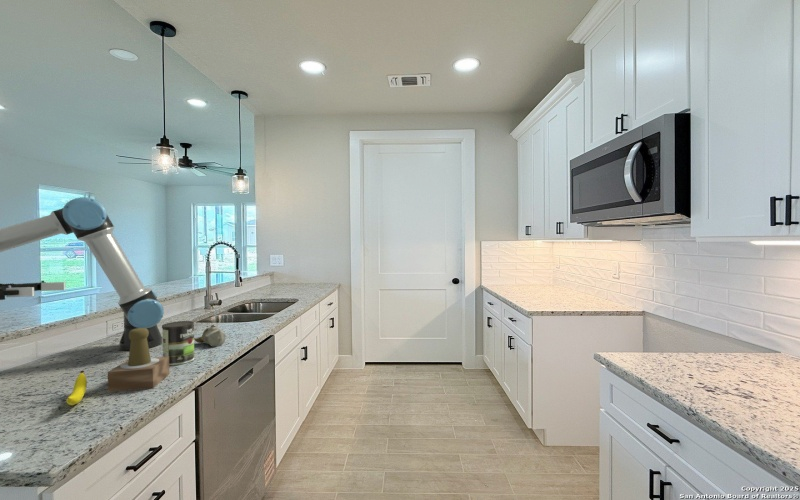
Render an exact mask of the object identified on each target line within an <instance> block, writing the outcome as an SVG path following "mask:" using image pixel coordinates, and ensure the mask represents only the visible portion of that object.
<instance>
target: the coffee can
mask: <svg viewBox="0 0 800 500" xmlns="http://www.w3.org/2000/svg"><path fill="white" fill-rule="evenodd" d="M161 329H162V330H161V331H162V357H169V366H179V365H184V364H188V363H191V362H193V361H194V360H195V359H196V358H195V339H194V338H195V322H194V321H191V320H181V321H180V320H179V321H178V320H177V321H172V322H168V323H164V324H162V325H161Z"/></svg>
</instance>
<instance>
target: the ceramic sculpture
mask: <svg viewBox="0 0 800 500" xmlns="http://www.w3.org/2000/svg"><path fill="white" fill-rule="evenodd" d="M226 339H227V334H226V333H225V332H224V331H223V330H220V328H218V326H216V325H214V324H212V325H210V327H208V328H204V330H203V333H202V335H201V336H200V337H194V342H197V343H198V344H207V345H209V346H211V347H219V346H222V345H223V344H224V343H225V342H226Z"/></svg>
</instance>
